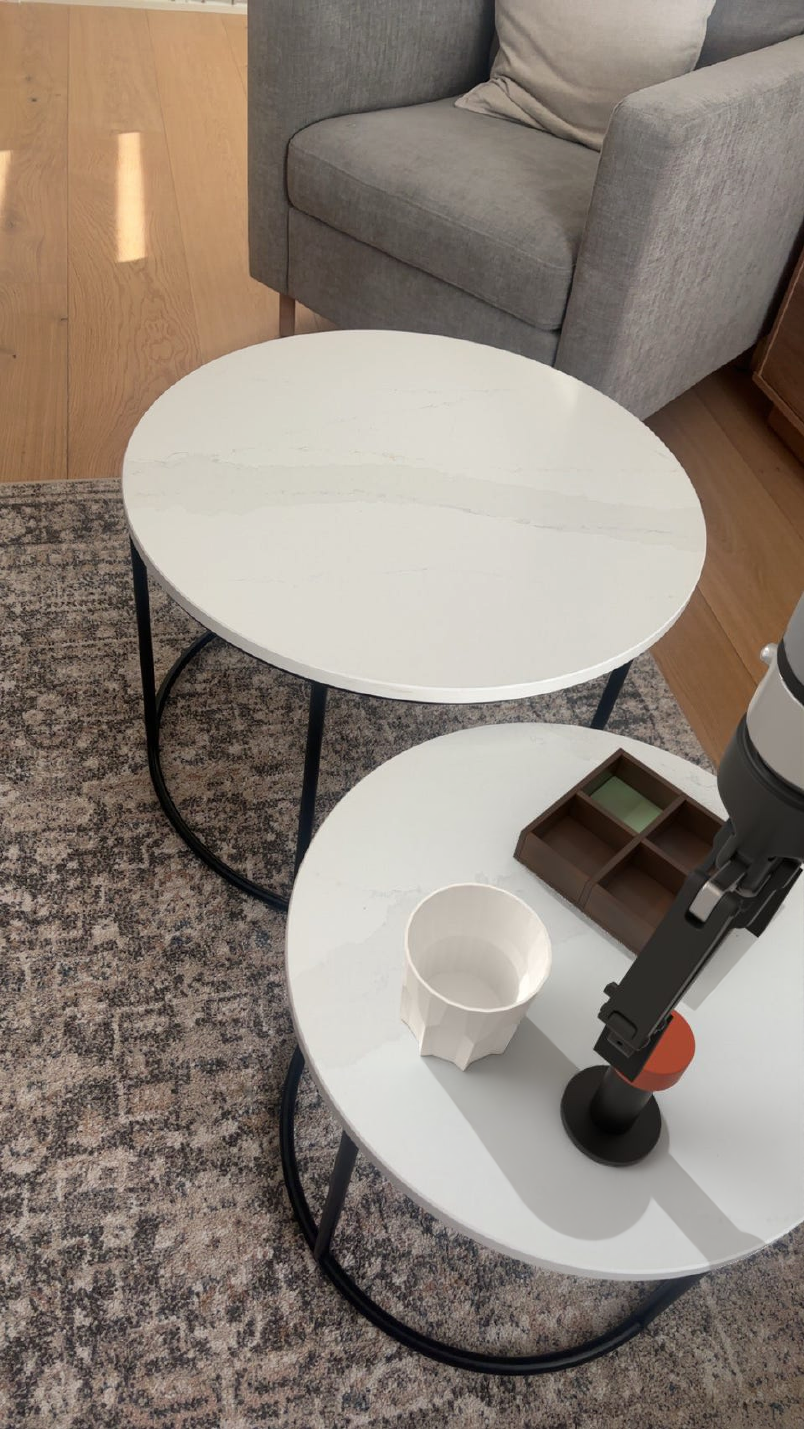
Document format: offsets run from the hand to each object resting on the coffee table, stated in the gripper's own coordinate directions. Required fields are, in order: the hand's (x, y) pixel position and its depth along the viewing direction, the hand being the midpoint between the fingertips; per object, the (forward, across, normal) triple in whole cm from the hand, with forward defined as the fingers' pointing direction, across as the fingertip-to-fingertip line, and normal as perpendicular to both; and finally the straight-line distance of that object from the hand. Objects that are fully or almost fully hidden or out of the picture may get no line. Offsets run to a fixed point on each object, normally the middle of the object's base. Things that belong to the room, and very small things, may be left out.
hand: (682, 987), depth 64 cm
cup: (+18, +2, -12) cm, 22 cm away
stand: (+18, 0, 0) cm, 18 cm away
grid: (+18, -19, -12) cm, 29 cm away
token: (+8, 0, 0) cm, 8 cm away
